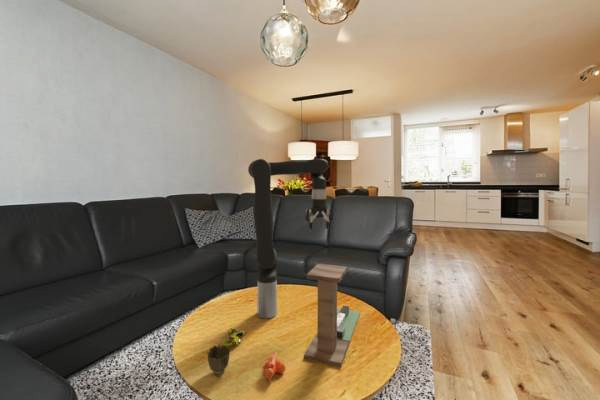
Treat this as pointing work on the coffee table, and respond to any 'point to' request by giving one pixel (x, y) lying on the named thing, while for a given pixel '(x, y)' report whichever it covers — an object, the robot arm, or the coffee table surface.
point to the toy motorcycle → (233, 337)
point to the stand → (327, 317)
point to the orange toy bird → (273, 367)
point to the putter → (342, 321)
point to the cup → (218, 359)
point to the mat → (349, 324)
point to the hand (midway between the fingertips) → (318, 229)
